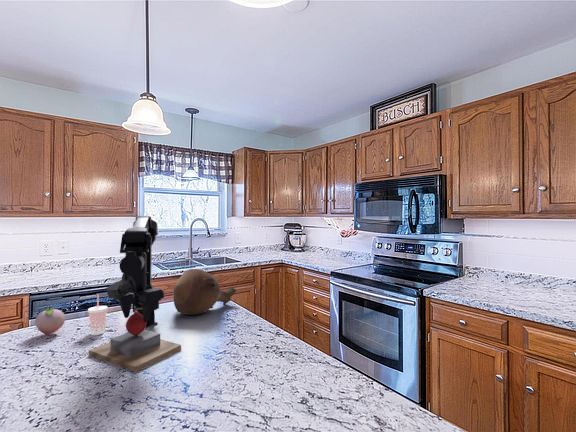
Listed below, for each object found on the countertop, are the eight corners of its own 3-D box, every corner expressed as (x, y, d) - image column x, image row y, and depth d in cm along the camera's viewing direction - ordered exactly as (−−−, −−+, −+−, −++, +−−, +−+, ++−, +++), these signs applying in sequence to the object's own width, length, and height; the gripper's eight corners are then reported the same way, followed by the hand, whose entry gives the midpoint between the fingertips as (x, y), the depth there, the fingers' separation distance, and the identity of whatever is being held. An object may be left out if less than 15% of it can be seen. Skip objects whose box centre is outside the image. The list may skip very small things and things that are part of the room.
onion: (150, 333, 97) (150, 308, 97) (139, 340, 91) (139, 313, 91) (133, 332, 97) (133, 307, 97) (121, 339, 92) (121, 312, 92)
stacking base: (88, 355, 92) (88, 338, 92) (136, 336, 106) (136, 322, 106) (135, 372, 82) (135, 353, 82) (181, 349, 96) (181, 333, 96)
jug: (176, 325, 118) (238, 320, 139) (189, 277, 118) (249, 279, 139) (158, 303, 133) (216, 302, 154) (169, 261, 132) (226, 265, 153)
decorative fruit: (68, 334, 108) (68, 306, 108) (39, 341, 102) (39, 312, 102) (61, 328, 114) (61, 301, 114) (33, 334, 108) (33, 306, 108)
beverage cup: (104, 334, 108) (104, 295, 108) (84, 336, 106) (85, 297, 106) (109, 328, 114) (110, 291, 114) (91, 330, 112) (91, 292, 112)
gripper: (92, 271, 91) (91, 322, 91) (131, 277, 83) (131, 333, 83) (126, 266, 101) (126, 312, 101) (165, 270, 93) (164, 321, 92)
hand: (136, 319), depth 94 cm, fingers open, 9 cm apart
